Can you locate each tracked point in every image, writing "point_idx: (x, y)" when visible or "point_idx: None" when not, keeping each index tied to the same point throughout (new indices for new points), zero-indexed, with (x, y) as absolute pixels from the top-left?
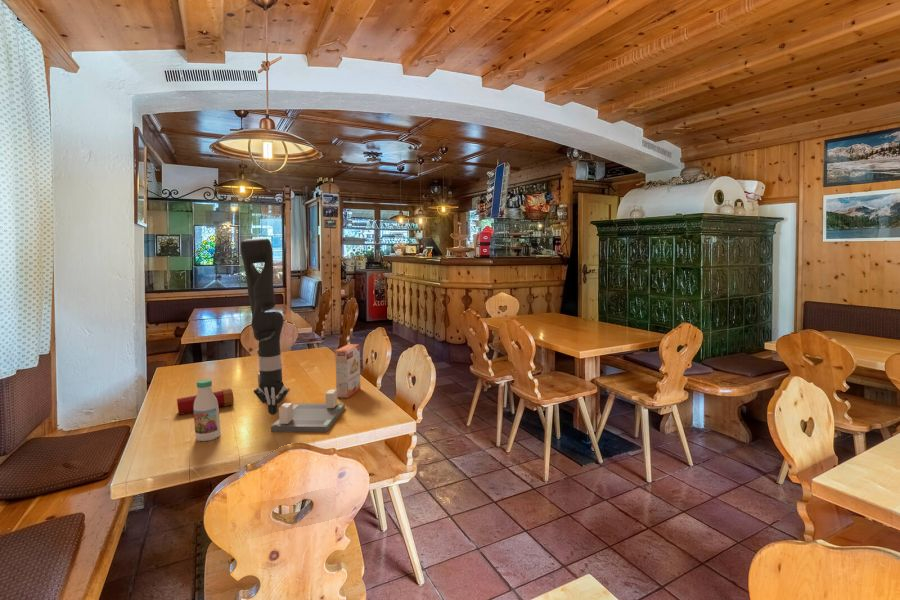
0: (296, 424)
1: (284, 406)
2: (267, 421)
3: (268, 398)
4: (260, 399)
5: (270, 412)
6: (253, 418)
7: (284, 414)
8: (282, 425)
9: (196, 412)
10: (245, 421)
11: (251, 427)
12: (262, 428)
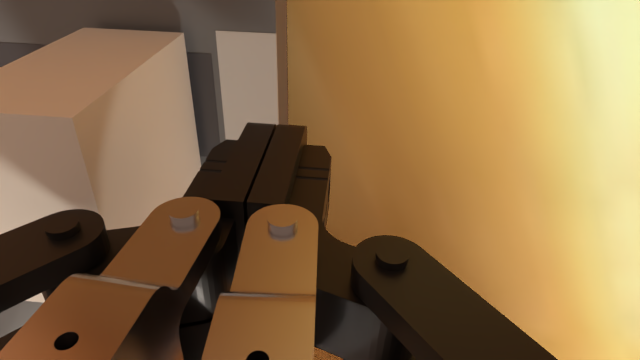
0: (2, 31)
1: (15, 174)
2: (422, 227)
3: (245, 294)
4: (480, 307)
5: (291, 136)
6: (567, 292)
7: (51, 69)
8: (143, 3)
9: None
10: (633, 241)
11: (546, 101)
12: (418, 69)
